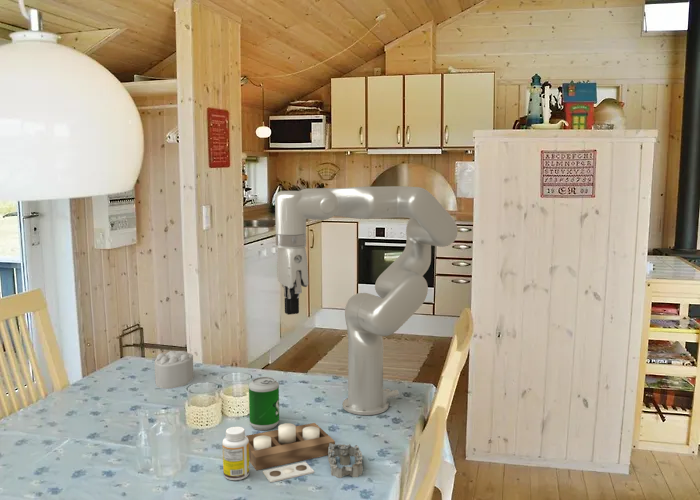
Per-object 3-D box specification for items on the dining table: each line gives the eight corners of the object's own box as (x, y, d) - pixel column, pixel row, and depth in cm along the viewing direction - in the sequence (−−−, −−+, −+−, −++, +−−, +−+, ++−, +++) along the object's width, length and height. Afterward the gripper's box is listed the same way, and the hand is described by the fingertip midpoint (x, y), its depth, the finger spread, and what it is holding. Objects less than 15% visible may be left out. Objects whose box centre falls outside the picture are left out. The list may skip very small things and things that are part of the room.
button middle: (292, 436, 155) (292, 422, 154) (298, 442, 151) (298, 428, 150) (276, 439, 153) (275, 425, 152) (282, 446, 149) (281, 431, 149)
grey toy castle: (363, 479, 140) (363, 461, 139) (328, 479, 139) (328, 461, 139) (361, 456, 150) (361, 439, 150) (328, 456, 150) (328, 440, 149)
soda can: (274, 432, 163) (273, 386, 161) (245, 430, 164) (244, 384, 162) (283, 421, 170) (282, 376, 168) (255, 419, 171) (254, 374, 170)
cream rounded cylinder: (268, 448, 152) (267, 434, 152) (273, 455, 149) (273, 440, 148) (251, 451, 150) (251, 437, 150) (256, 459, 147) (256, 444, 146)
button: (315, 439, 157) (315, 425, 157) (322, 445, 154) (322, 431, 153) (300, 442, 156) (299, 428, 155) (306, 448, 152) (306, 434, 152)
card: (305, 463, 146) (305, 461, 146) (314, 472, 142) (314, 470, 142) (262, 472, 142) (262, 470, 142) (270, 482, 137) (270, 480, 137)
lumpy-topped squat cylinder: (197, 375, 206) (196, 348, 205) (181, 389, 194) (180, 361, 192) (165, 374, 207) (164, 347, 206) (148, 388, 195) (147, 359, 194)
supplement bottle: (238, 466, 145) (236, 422, 143) (254, 474, 141) (254, 429, 140) (217, 476, 140) (216, 430, 139) (234, 484, 137) (233, 437, 135)
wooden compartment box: (314, 434, 162) (314, 422, 161) (335, 453, 151) (335, 441, 151) (240, 449, 153) (240, 436, 153) (256, 470, 143) (255, 457, 142)
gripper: (316, 243, 157) (317, 318, 159) (294, 237, 170) (294, 306, 172) (287, 245, 153) (288, 321, 156) (266, 238, 167) (267, 308, 169)
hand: (291, 313), depth 164 cm, fingers closed
